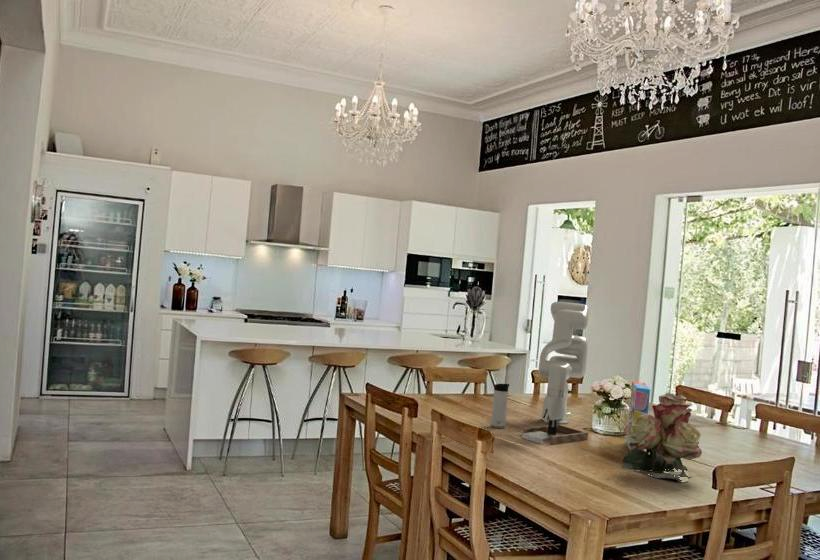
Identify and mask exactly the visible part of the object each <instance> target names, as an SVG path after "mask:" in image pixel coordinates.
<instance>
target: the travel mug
mask: <svg viewBox="0 0 820 560" xmlns="http://www.w3.org/2000/svg"><path fill="white" fill-rule="evenodd" d="M509 388H510V383H497V384H496V383H495V384H494V389H493V399H492V409H491V420H490V427H491V428H493V427H494V428H493V429H497V428H504V429H505V427H506V419H507V409H508V408H507V406H508V395H509Z"/></svg>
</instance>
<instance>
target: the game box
mask: <svg viewBox="0 0 820 560" xmlns="http://www.w3.org/2000/svg"><path fill="white" fill-rule="evenodd" d="M650 394H651V389H650V388H649V386H648V385H647V384H646V383H644V382H638V381H632V382H631V388H630V398H629V410H628V417H627V418H628V420H627V425H629V424H630V422H631V421H634V420H635V419H637V418H638V416H640V415H642V414H644V413H647V414H649V406H650V405H649V404H650ZM625 443H626V445H627V447H628V450H629V453H630V452H631V451H630V450H632V449H634V448H635V446H633V447H631V446H629V444H630V443H632V442H631V441H630V439H629V437H628V435H627V434H626V440H625ZM643 450H644V451H645V449H643Z"/></svg>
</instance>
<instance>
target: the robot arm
mask: <svg viewBox="0 0 820 560" xmlns="http://www.w3.org/2000/svg"><path fill="white" fill-rule="evenodd" d="M550 313H551V316H552V317H551V318H552V320H553V330H552V339H551V341H549V342H548V343H547V344H546V345H544V347H543V348H542V349H541V351H540V355H539V361H538V375H539V376H540V377H542V378H547V388H546V395H545V397H544V401H543V405H542V411H541V420H542V421H543V422H544V423H547V426H548V433H549V434H552V435H556V429H557V426H558V425H565V424H568V423H569V419H567V418H568V417H571V416H572V413H571V412H567V406H568V405H567V402H568V394H569V384H568V382H567V381H568V379H570V378H575V379H581V378H584V377H585V374H586V367H587V359H588V357H587V356H588V340H587V339H586V337H584V336H580V335H574V334H573V333H574V330H579V331H585V330H586V328H587V326H588V323H589V314H590V310H589V307H588V305H587V304H585V303H576V302H570V301H569V302H568V301H567V302H565V301H555V302H552V303H551V305H550ZM552 352H555V353H556V354H559V355H554V356H553V355H552V356H551V357H550V358H549V360H547V357H548V355H550V354H551V353H552ZM563 355H564V356H563ZM566 355H567V356H566ZM572 356H575V357H572Z"/></svg>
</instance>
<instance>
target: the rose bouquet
mask: <svg viewBox="0 0 820 560" xmlns="http://www.w3.org/2000/svg"><path fill="white" fill-rule="evenodd" d="M686 399H687V397H685V396H683V395H682V394H680V395H676V394H674V393H670V392H669V393H667V392H665V394H661V395H659V396H658V401H659V403H658V404H657V405H652V406H651V407H652V410H653V411H652V412H653V415H654V416H653V415H652V414H649V413H648V414H647V413H644V414H642V415H640V416H638V418H637V419H635V420H634V421H631V422H630V424H629V425H628V424H626V426H625V428H624V429H623V433H625V434H626V436H627V435H628V437H629V439H630V441H631V442H632V443H630V444H629V446H631V447H633V446H635V448H634V449H632V450H629V452H627V455H625V456H623V457H624V458H623V459H622V462H621V467H622V468H623V469H625V470H629V471H632V470H633V471H632V472H637V473H643V474H644V475H646V476H647V477H652V478H656V479H673V480H677V482H678V483H680V482H681V481H682V480H680V479H679V478H680V477H688V476H689V475H688V476H687V475H686V474H685V472H684V470H686V471H688V468H687V466H685V465H683V462H682V459H684V460H687V461H692V460H694V459H699V458H700V457H701V456H702V454H703V450H702V449H701V448H700V445H699V444H700V438H701V432H700V431H699V430H698V429H697V428H696V426H694V425H693V424H691V423H689V422H690V420H689V418H690V417H691V415H692V412H693V409H692V408H690V404H688V403H687V402H685V400H686ZM643 449H644V450H643ZM645 450H646V451H645ZM630 451H631V452H630ZM674 468H675V469H676V470H677V471H678V469H680V470H682V472H669V473H663V472H660V471H665V469H666V470H668V469H674ZM637 470H641V471H643V472H640V471H637ZM645 470H652V471H659V472H656V473H652V471H650V472H647V471H645ZM659 473H660V474H659ZM661 473H663V474H661ZM648 474H650V475H648ZM651 475H652V476H651ZM674 475H675V477H674ZM678 476H680V477H678Z"/></svg>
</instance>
